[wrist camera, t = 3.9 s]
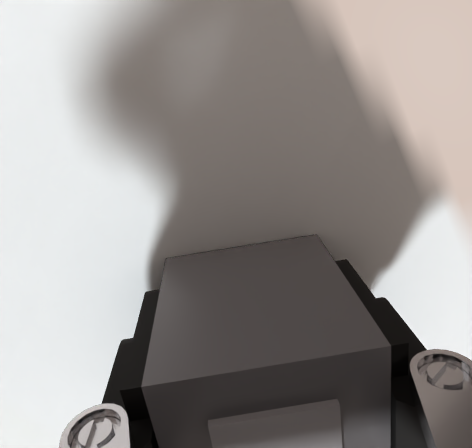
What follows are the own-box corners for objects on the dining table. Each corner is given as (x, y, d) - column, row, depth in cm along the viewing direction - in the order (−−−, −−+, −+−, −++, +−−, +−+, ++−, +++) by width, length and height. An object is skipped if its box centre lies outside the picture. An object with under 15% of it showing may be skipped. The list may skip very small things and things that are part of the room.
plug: (165, 258, 12) (140, 392, 7) (316, 234, 12) (394, 351, 7) (193, 377, 13) (187, 553, 8) (325, 355, 13) (392, 517, 9)
